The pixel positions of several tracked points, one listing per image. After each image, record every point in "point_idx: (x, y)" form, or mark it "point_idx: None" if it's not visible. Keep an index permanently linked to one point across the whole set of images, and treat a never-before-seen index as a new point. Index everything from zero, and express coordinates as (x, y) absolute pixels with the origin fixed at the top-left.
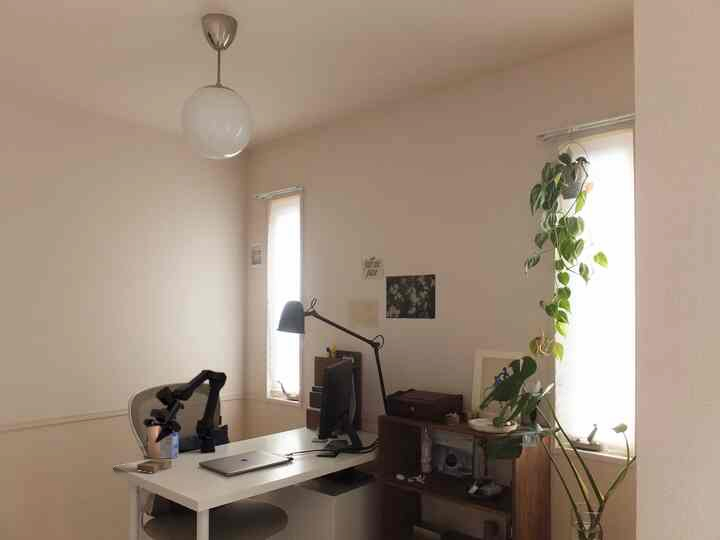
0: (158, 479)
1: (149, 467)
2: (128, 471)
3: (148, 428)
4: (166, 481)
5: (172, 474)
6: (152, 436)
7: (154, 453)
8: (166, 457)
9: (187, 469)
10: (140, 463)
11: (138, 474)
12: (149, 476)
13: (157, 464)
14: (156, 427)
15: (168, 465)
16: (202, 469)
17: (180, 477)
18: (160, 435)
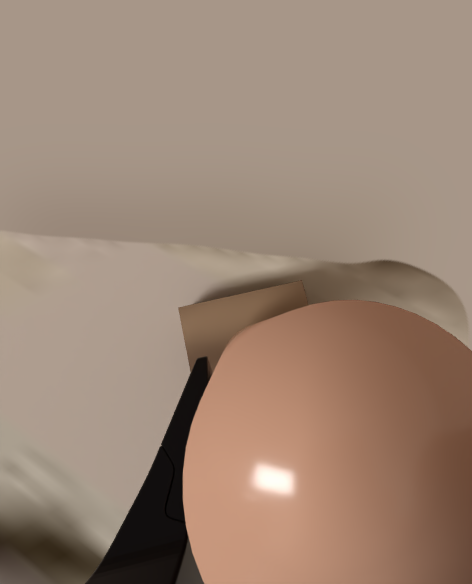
0: (79, 270)
1: (211, 301)
2: (332, 266)
3: (360, 305)
4: (16, 272)
5: (88, 353)
6: (235, 338)
7: (226, 344)
8: None
9: (94, 453)
10: (306, 301)
11: (240, 265)
12: (162, 274)
13: (198, 342)
14: (189, 451)
15: None
16: (14, 503)
17: (6, 345)
18: (167, 437)
